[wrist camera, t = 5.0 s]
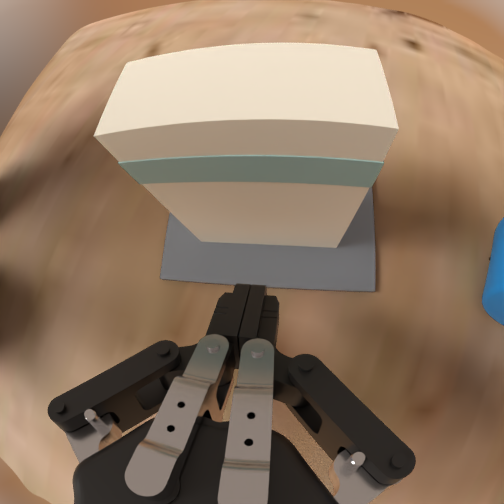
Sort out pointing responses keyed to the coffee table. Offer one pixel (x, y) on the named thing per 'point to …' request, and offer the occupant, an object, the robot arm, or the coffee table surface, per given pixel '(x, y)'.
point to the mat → (276, 259)
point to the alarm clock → (495, 278)
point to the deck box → (254, 137)
